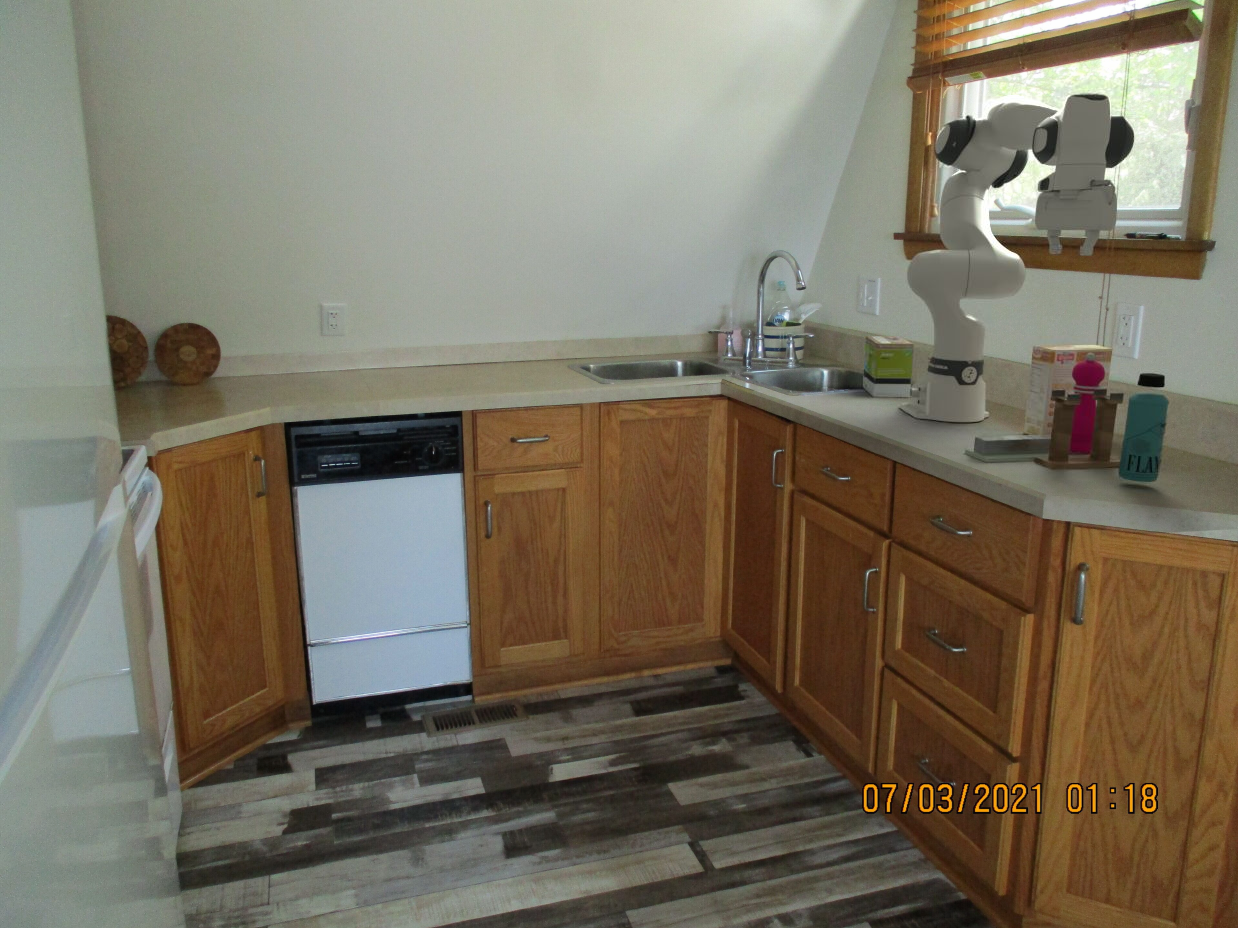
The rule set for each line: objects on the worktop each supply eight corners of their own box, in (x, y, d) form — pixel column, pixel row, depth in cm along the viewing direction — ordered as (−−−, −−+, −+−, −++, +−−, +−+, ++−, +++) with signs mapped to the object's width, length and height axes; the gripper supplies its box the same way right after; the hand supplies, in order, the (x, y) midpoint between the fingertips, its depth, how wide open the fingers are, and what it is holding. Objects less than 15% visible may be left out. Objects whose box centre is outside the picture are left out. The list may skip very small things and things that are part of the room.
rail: (973, 451, 194) (975, 436, 194) (1045, 449, 198) (1047, 434, 197) (983, 455, 191) (984, 440, 190) (1056, 453, 194) (1058, 438, 194)
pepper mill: (1087, 446, 204) (1099, 350, 200) (1105, 454, 197) (1118, 355, 192) (1053, 446, 204) (1064, 350, 199) (1069, 454, 197) (1082, 355, 192)
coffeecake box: (1081, 431, 220) (1092, 344, 215) (1102, 437, 213) (1114, 348, 209) (1021, 433, 217) (1031, 345, 212) (1041, 439, 210) (1052, 349, 206)
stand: (1034, 461, 190) (1042, 389, 187) (1102, 459, 193) (1112, 388, 190) (1053, 469, 184) (1062, 395, 181) (1123, 466, 187) (1133, 393, 184)
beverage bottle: (1117, 488, 172) (1133, 375, 167) (1114, 479, 178) (1129, 370, 173) (1159, 492, 169) (1177, 377, 164) (1154, 483, 175) (1170, 372, 171)
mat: (964, 453, 197) (965, 449, 197) (1040, 450, 200) (1041, 446, 200) (986, 462, 189) (987, 458, 189) (1065, 459, 192) (1065, 455, 192)
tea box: (861, 388, 274) (865, 335, 271) (897, 389, 274) (901, 336, 270) (872, 397, 260) (876, 341, 256) (910, 398, 259) (915, 342, 256)
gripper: (1130, 179, 179) (1120, 256, 183) (1060, 183, 199) (1052, 253, 202) (1100, 178, 178) (1090, 256, 182) (1032, 183, 198) (1025, 253, 201)
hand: (1070, 254), depth 192 cm, fingers open, 8 cm apart
